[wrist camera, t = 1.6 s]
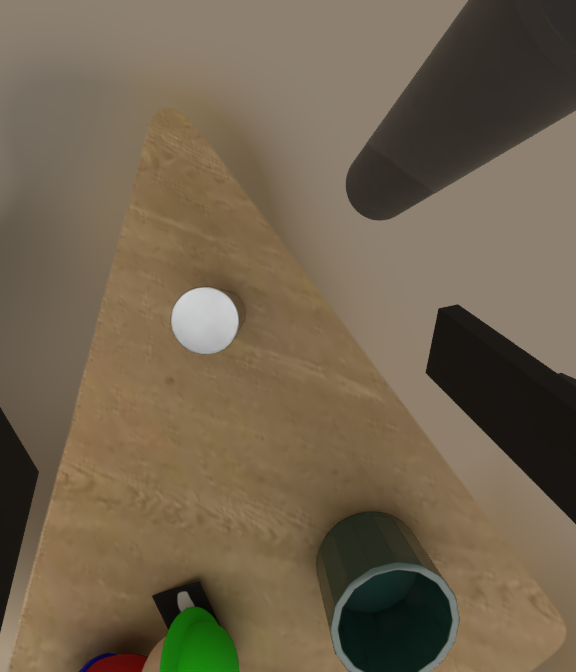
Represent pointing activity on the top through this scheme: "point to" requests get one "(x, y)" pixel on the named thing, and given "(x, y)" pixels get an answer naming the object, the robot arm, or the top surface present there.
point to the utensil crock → (384, 597)
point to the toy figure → (179, 639)
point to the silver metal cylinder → (207, 319)
